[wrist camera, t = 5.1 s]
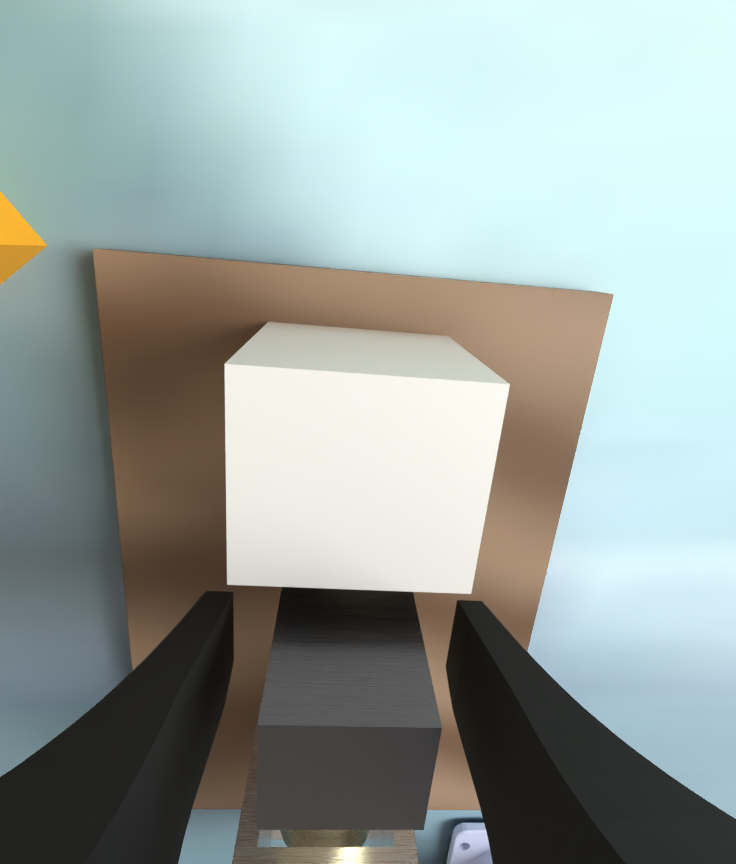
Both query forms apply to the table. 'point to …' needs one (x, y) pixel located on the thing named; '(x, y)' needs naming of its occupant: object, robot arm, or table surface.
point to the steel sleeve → (255, 860)
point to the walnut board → (206, 458)
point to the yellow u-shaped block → (15, 240)
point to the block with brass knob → (345, 718)
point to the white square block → (358, 459)
